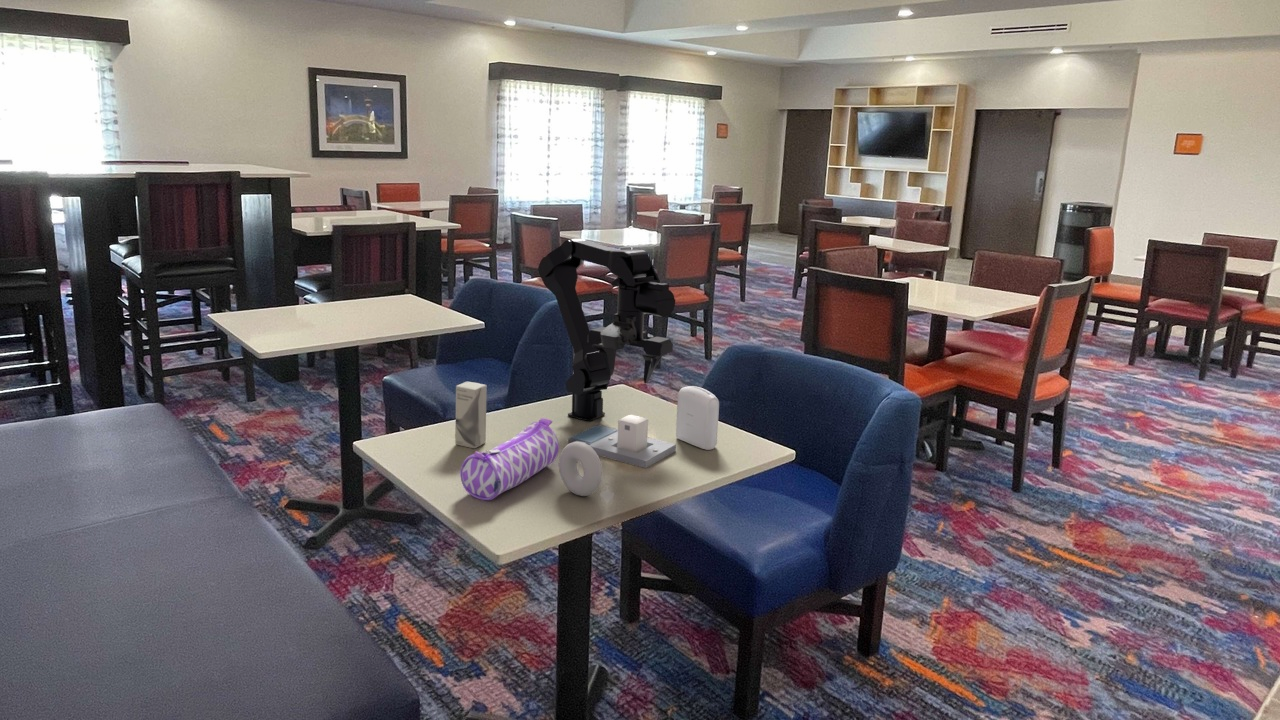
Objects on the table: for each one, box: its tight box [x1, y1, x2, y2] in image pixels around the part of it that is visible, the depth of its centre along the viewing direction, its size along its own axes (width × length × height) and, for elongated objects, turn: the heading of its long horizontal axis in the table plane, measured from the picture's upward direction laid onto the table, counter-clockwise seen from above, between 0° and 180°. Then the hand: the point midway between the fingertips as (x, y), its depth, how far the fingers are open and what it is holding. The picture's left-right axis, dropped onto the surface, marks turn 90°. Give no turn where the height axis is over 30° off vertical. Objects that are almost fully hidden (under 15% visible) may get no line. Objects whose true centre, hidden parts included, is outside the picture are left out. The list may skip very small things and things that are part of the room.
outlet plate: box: [589, 432, 677, 469], centre depth 172 cm, size 14×12×2 cm
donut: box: [558, 441, 603, 497], centre depth 149 cm, size 10×4×10 cm, turn 47°
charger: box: [617, 414, 649, 453], centre depth 171 cm, size 4×4×7 cm
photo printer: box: [675, 385, 720, 451], centre depth 177 cm, size 10×4×12 cm, turn 39°
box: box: [454, 381, 488, 449], centre depth 171 cm, size 5×4×13 cm
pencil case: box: [459, 418, 560, 502], centre depth 153 cm, size 22×9×10 cm, turn 155°
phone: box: [567, 424, 618, 445], centre depth 179 cm, size 6×11×1 cm, turn 148°
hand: (628, 379), depth 181 cm, fingers open, 9 cm apart
